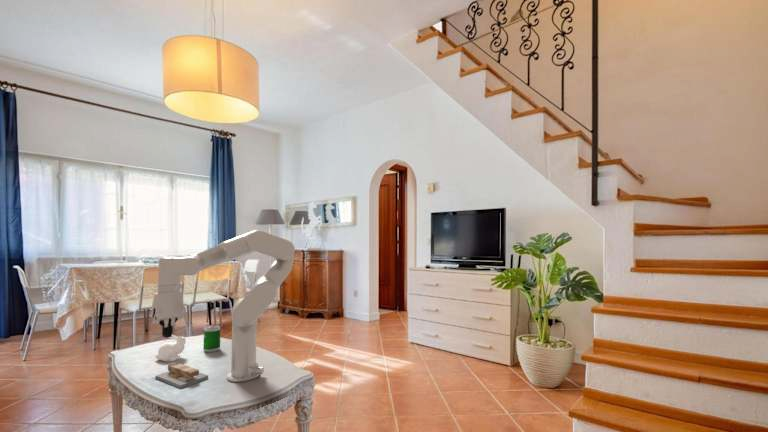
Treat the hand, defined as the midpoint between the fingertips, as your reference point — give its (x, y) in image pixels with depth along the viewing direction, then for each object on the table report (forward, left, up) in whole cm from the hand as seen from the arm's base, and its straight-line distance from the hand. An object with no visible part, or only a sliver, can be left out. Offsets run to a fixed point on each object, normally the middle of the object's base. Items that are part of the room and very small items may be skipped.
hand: (167, 336), depth 136 cm
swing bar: (0, -8, -16) cm, 18 cm away
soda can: (+11, -41, -19) cm, 46 cm away
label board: (0, -8, -19) cm, 21 cm away
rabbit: (+21, -27, -19) cm, 39 cm away
